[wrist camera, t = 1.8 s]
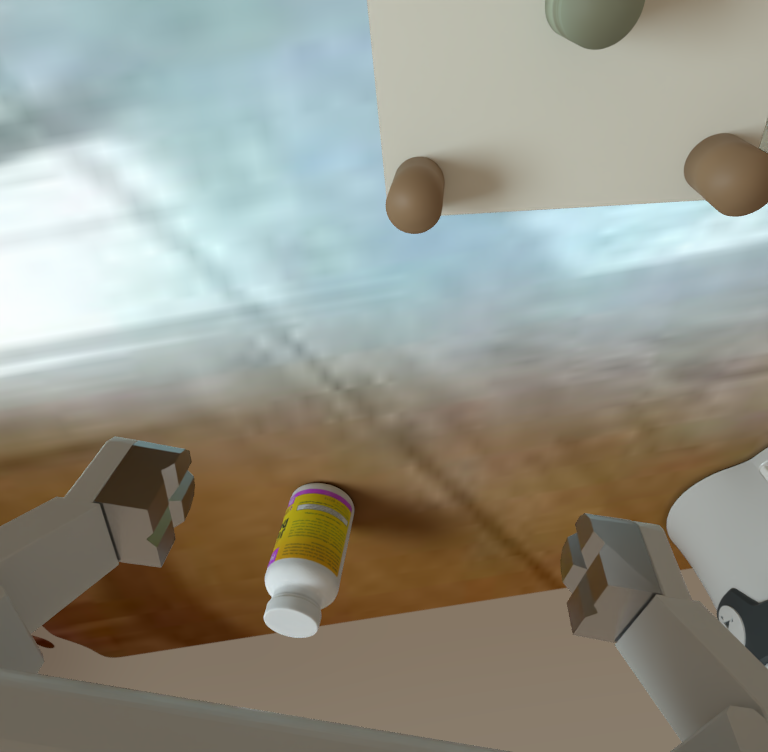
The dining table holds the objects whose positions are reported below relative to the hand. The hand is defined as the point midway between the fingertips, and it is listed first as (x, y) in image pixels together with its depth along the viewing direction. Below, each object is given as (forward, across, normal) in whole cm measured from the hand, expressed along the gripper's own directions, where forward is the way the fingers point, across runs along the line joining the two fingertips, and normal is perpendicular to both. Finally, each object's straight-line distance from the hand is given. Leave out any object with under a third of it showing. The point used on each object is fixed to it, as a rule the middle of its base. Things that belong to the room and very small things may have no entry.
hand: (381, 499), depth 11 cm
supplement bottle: (+27, +5, +35) cm, 44 cm away
